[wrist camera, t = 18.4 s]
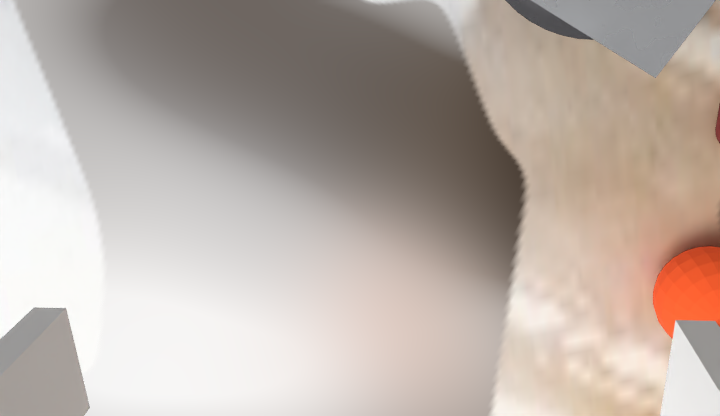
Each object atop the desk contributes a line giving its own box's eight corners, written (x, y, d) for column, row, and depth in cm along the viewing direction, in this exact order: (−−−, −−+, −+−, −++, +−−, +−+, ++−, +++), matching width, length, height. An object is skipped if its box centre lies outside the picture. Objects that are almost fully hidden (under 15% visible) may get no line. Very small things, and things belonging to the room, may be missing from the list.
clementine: (719, 197, 44) (770, 246, 37) (782, 266, 45) (841, 325, 39) (618, 272, 46) (649, 330, 40) (680, 334, 48) (720, 400, 41)
